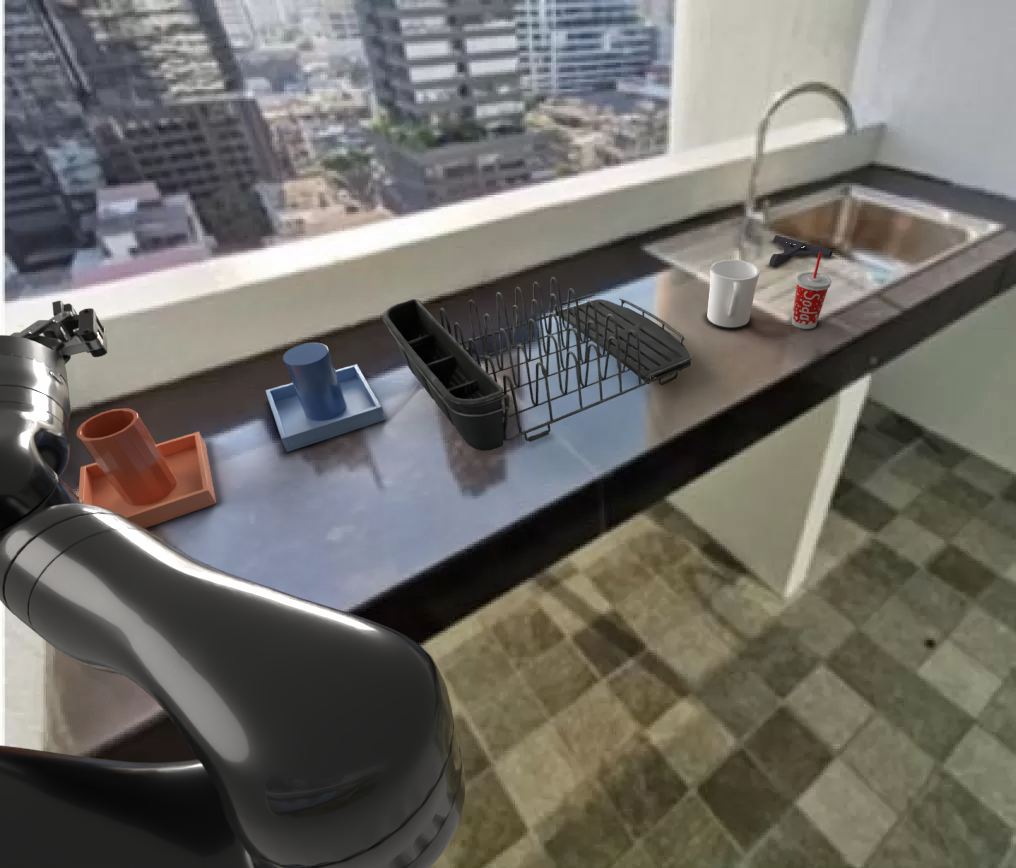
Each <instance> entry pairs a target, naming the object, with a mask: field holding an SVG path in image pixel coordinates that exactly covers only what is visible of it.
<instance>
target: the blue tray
mask: <svg viewBox="0 0 1016 868" xmlns="http://www.w3.org/2000/svg"><path fill="white" fill-rule="evenodd" d="M335 370H336V373H337V376H338V379H339V382H340V385H341V388H342V391H343V394H344V397H345V400H346V403H347V406H346V409H345V410H344V411H343V412H342V413H341V414H340V415H338V416H336V417H334V418H332V419H328V420H323V421H314V420H311V419H308V418H307V417H306V416H305V414H304V411H303V408H302V406H301V403H300V401H299V398H298V396H297V393H296V391H295V388H294V386H293V383H292V382H290V383H287V384H283V385H279V386H275V387H273V388H269V389H266V390H265V394H266V397H267V400H268V403H269V406H270V409H271V413H272V415H273V417H274V421H275V424H276V427H277V429H278V430H277V431H278V433H279V435H280V439H281V441H282V443H283V446H284V448H285V449H286V450H285V451H286V452H287V453H288V452H292V451H295V450H298V449H301V448H305V447H307V446H310V445H313V444H316V443H319V442H322V441H326V440H329V439H331V438H334V437H337V436H341V435H344V434H346V433H351V432H353V431H356V430H358V429H359V430H360V429H362V428H365V427H369V426H371V425H374V424H376V423H380V422H383V421H385V420H386V417H385V414H384V411H383V408H382V406H381V404H380V402H379V400H378V398H377V397H376V395H375V394H374V392H373V389H372V388H371V386H370V385H369V382H368V381H367V379H366V377H365V375H364V374H363V373H362V370H361V369H360V367H359V365H358V364H357V363H356V364H352V365H349V366H345V367H343V368H338V369H335Z"/></svg>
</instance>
